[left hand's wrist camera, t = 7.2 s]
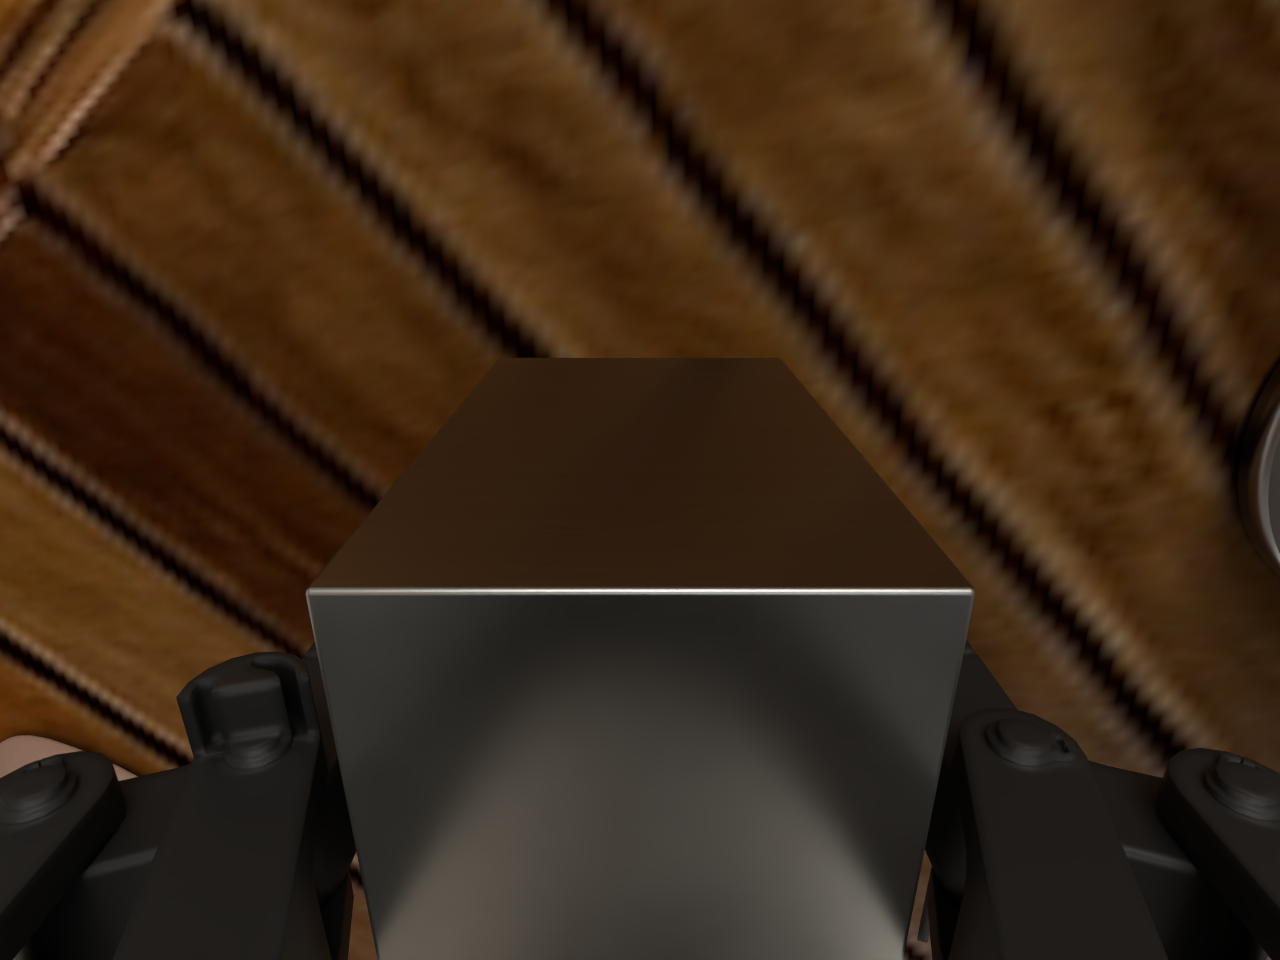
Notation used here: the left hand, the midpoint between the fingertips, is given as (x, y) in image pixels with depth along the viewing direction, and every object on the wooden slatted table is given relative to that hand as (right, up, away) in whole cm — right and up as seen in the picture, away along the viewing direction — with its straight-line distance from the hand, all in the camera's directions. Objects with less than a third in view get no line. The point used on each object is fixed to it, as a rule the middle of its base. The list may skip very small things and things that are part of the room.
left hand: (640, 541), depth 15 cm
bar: (0, -8, +4) cm, 9 cm away
